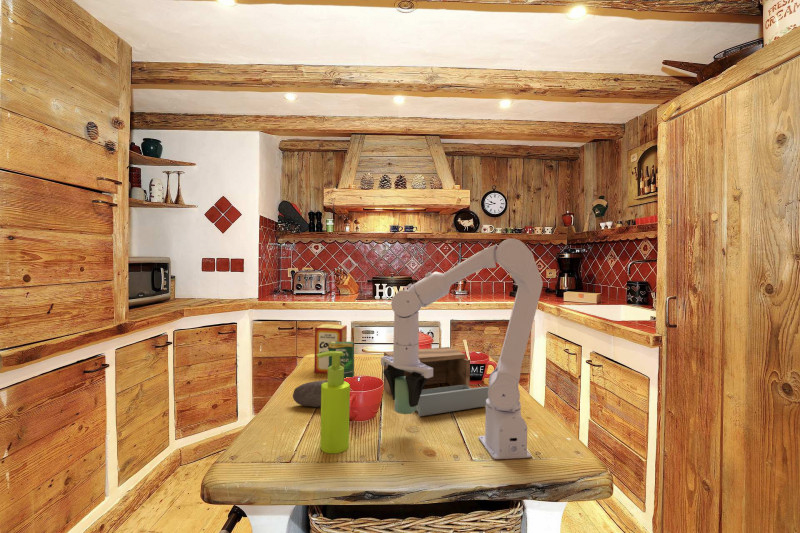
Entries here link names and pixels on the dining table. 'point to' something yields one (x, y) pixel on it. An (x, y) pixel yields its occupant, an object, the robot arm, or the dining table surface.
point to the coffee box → (348, 357)
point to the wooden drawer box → (441, 366)
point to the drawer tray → (451, 399)
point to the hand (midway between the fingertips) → (405, 402)
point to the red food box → (327, 343)
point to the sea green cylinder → (402, 397)
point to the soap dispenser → (334, 407)
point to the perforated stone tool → (309, 394)
